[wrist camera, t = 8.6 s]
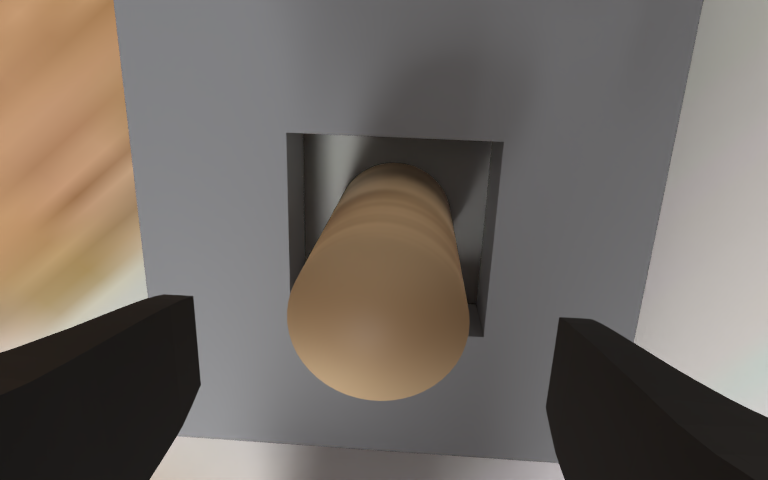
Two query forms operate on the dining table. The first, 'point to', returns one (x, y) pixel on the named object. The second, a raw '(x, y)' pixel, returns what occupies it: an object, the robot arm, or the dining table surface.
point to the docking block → (406, 120)
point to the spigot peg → (382, 289)
